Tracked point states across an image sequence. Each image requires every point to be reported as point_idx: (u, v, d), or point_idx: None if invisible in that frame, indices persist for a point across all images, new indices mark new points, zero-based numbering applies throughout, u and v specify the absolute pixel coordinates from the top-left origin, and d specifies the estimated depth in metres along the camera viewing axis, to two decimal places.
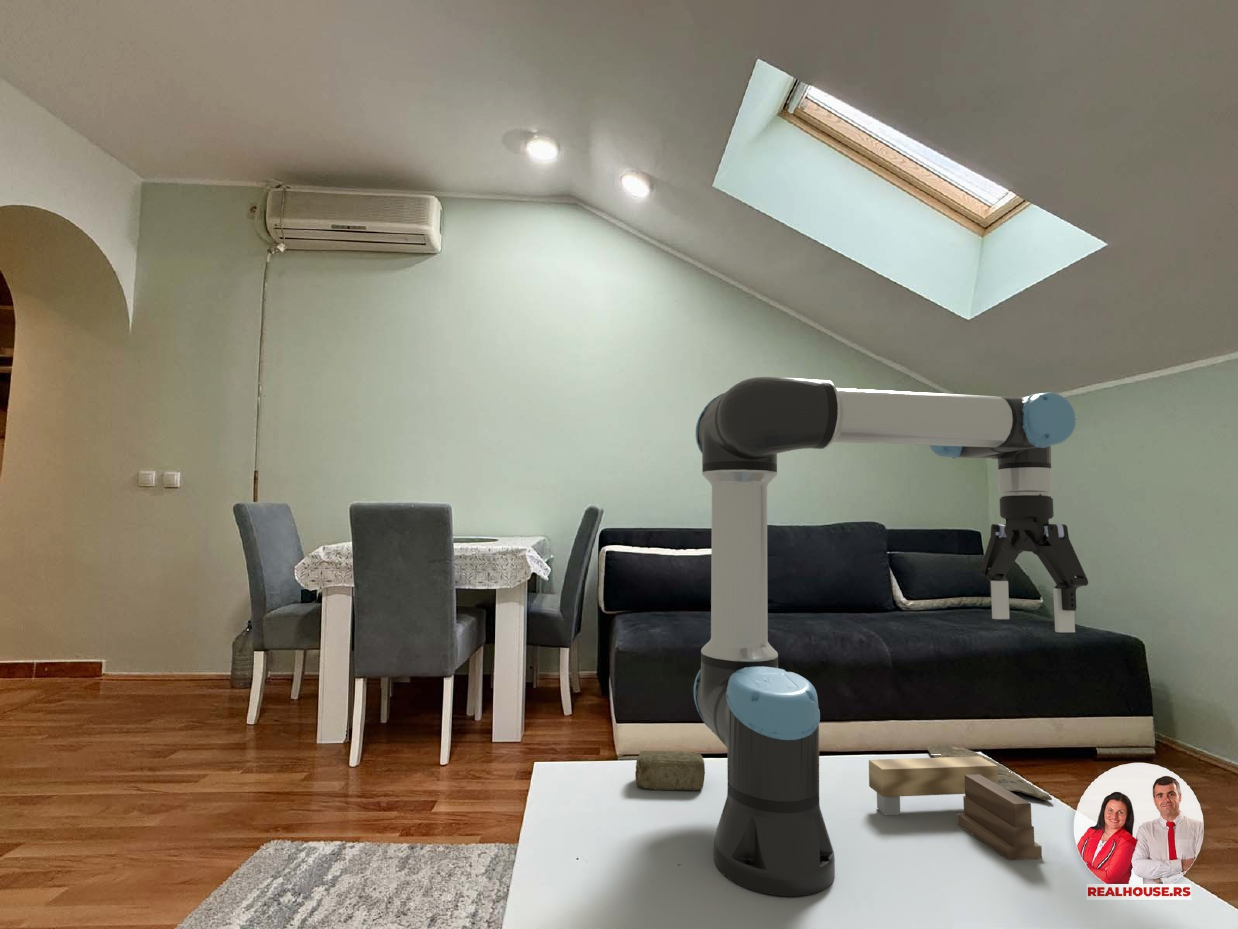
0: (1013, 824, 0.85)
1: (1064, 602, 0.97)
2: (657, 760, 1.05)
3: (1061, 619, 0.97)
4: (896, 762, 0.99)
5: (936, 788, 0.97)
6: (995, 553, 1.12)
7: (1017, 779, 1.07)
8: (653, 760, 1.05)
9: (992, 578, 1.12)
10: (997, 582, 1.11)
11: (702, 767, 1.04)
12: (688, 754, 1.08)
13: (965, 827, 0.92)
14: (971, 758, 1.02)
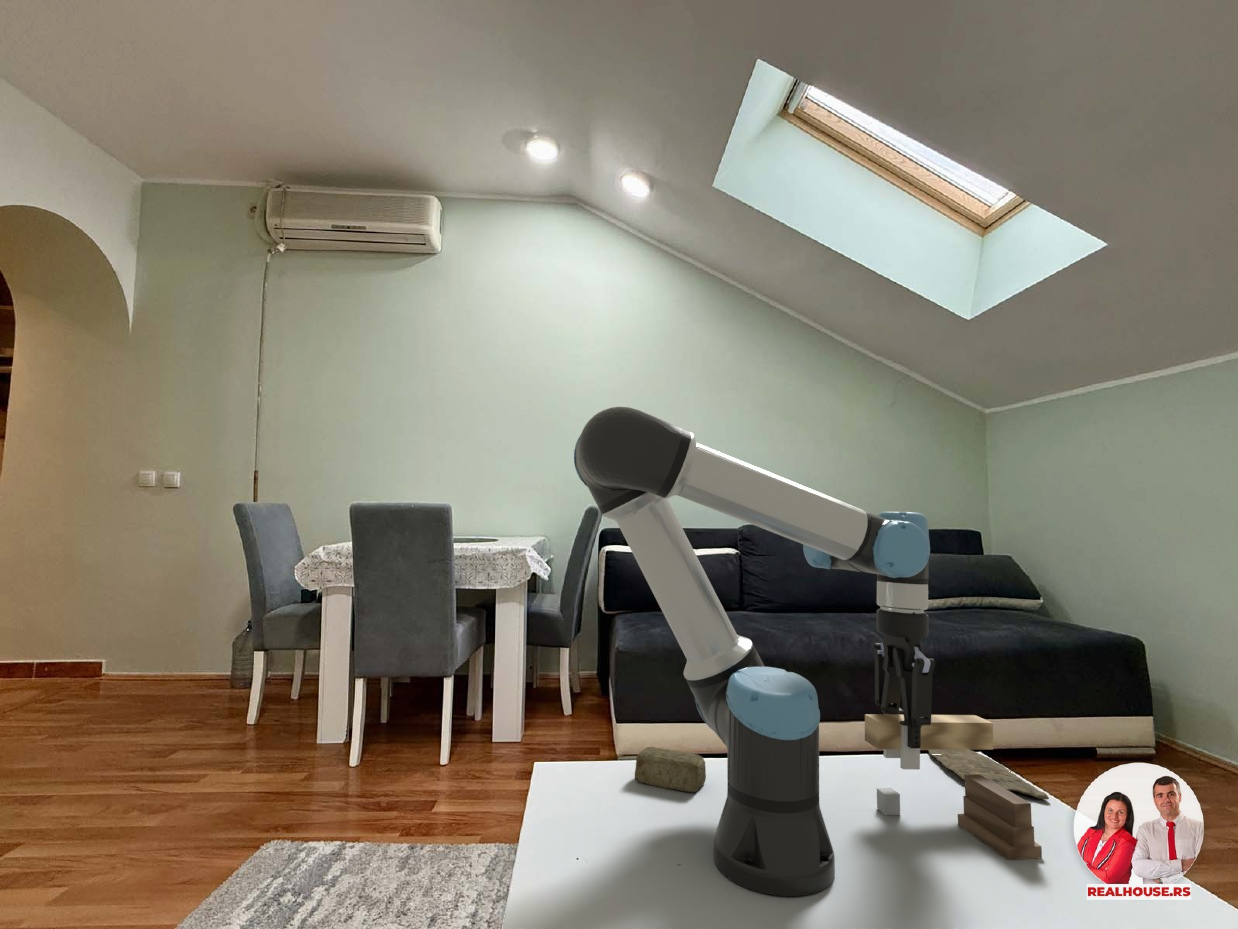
0: (1013, 824, 0.85)
1: (909, 739, 0.96)
2: (653, 756, 1.06)
3: (906, 756, 0.96)
4: (892, 717, 1.00)
5: (931, 742, 0.98)
6: (884, 676, 1.05)
7: (1015, 778, 1.08)
8: (649, 756, 1.07)
9: (886, 710, 1.02)
10: None
11: (694, 769, 1.03)
12: (690, 756, 1.07)
13: (965, 827, 0.92)
14: (967, 716, 1.02)
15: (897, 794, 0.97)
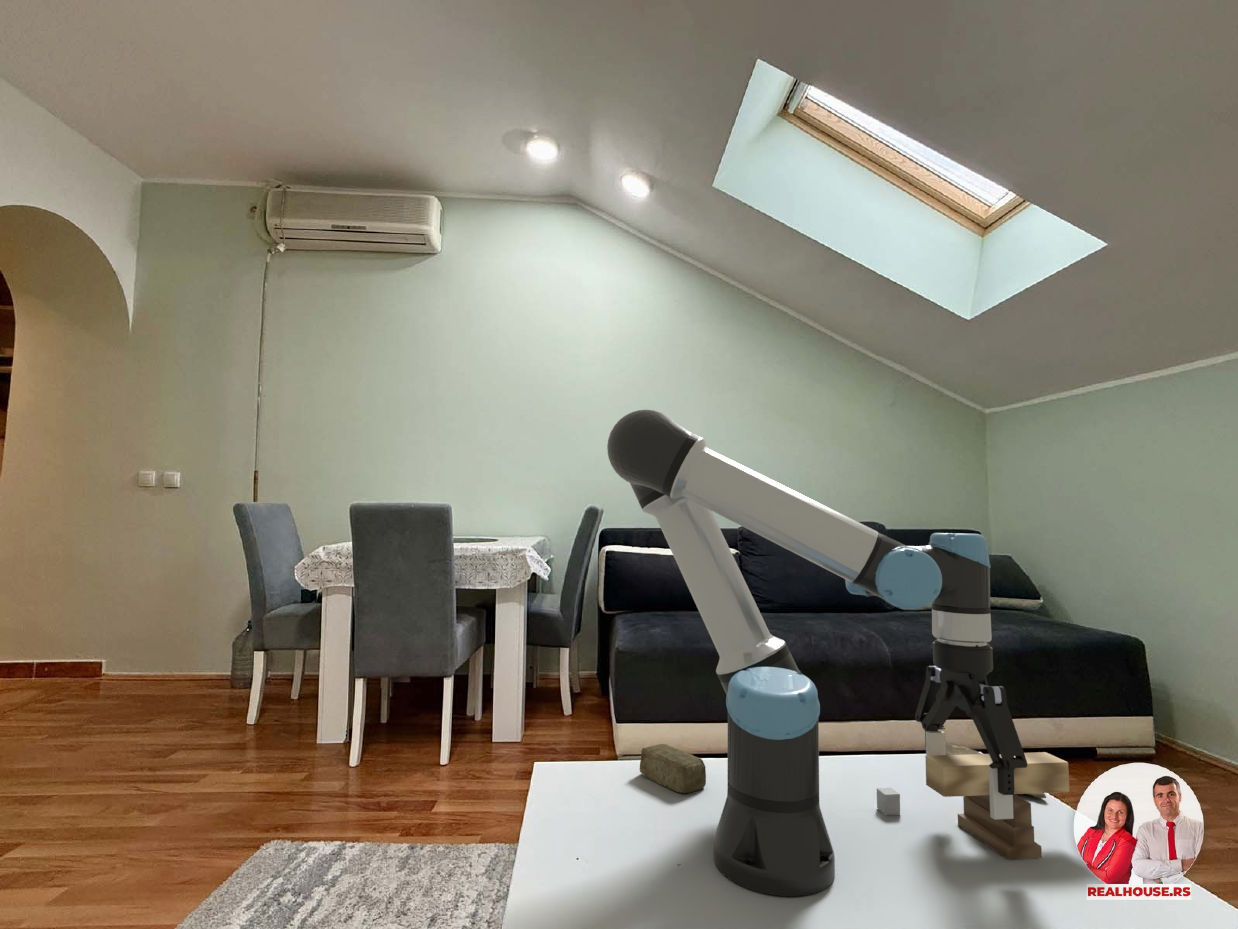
0: (1013, 824, 0.85)
1: (1000, 784, 0.82)
2: (653, 752, 1.08)
3: (997, 804, 0.82)
4: (956, 759, 0.90)
5: None
6: (931, 699, 0.97)
7: None
8: (650, 751, 1.09)
9: (927, 728, 0.97)
10: (932, 734, 0.96)
11: (682, 771, 1.03)
12: (689, 757, 1.06)
13: (965, 827, 0.92)
14: (1037, 754, 0.93)
15: (897, 794, 0.97)
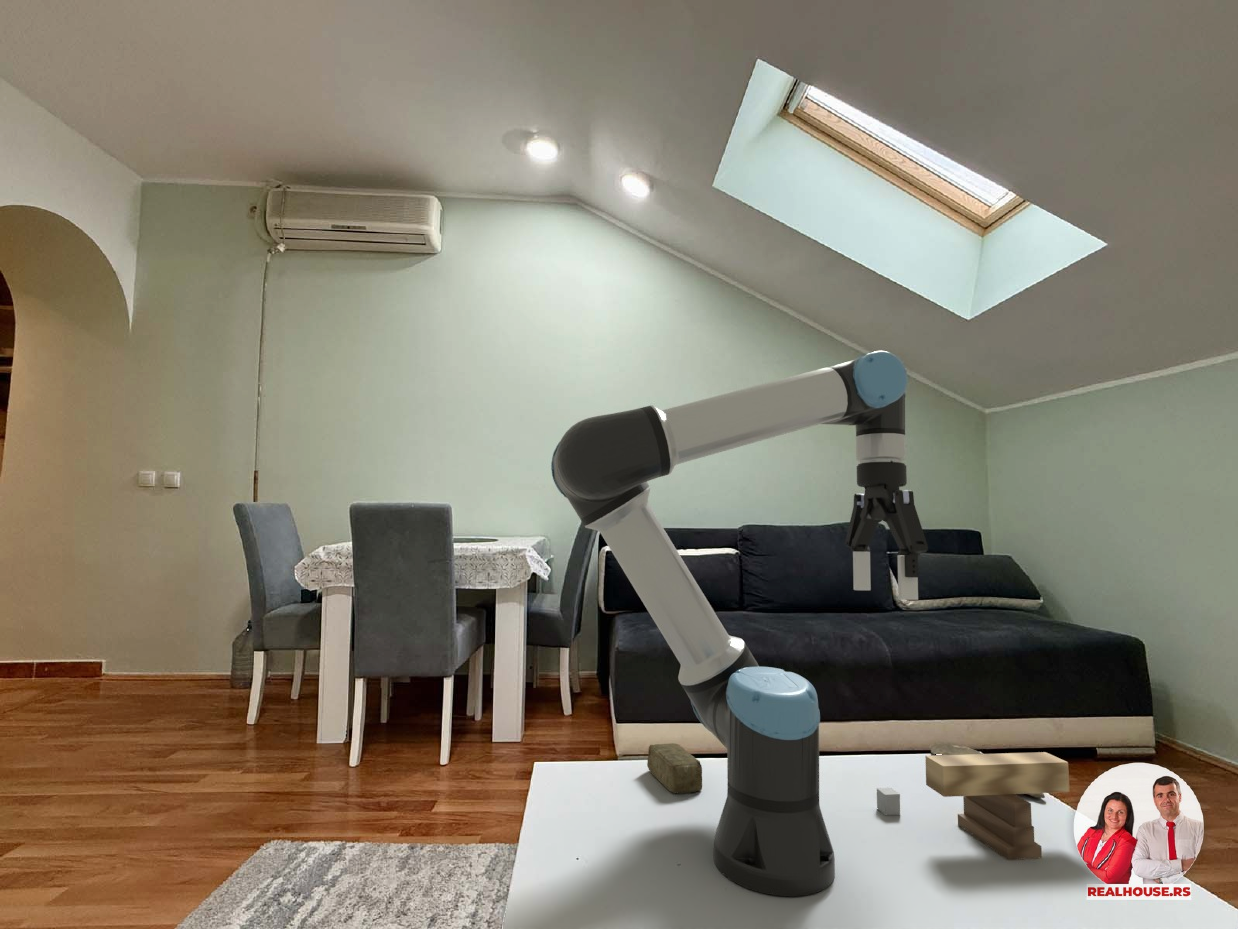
0: (1013, 824, 0.85)
1: (906, 569, 0.95)
2: (656, 749, 1.10)
3: (904, 586, 0.95)
4: (956, 759, 0.90)
5: (1002, 787, 0.88)
6: (858, 523, 1.10)
7: None
8: (655, 748, 1.11)
9: (854, 549, 1.10)
10: (858, 553, 1.09)
11: (672, 770, 1.03)
12: (687, 759, 1.06)
13: (965, 827, 0.92)
14: (1037, 754, 0.93)
15: (897, 794, 0.97)
